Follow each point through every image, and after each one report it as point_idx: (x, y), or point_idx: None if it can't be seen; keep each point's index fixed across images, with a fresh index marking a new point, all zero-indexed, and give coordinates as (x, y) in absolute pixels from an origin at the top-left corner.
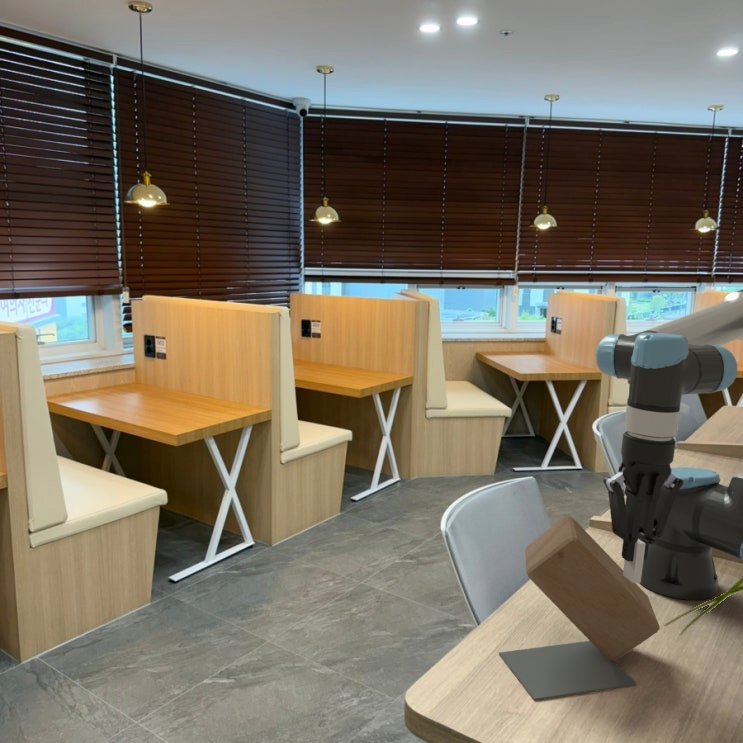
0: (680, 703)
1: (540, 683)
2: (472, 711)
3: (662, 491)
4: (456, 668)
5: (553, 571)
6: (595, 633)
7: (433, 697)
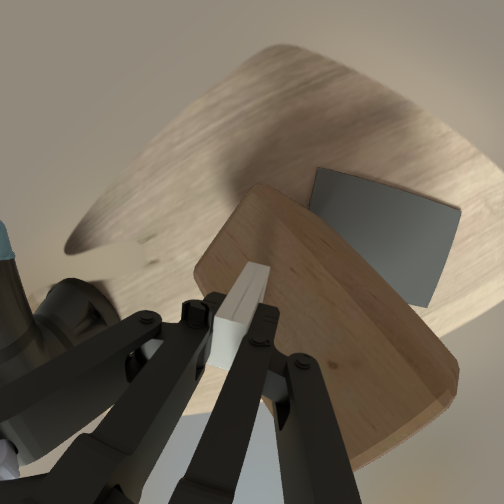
0: (291, 109)
1: (436, 232)
2: None
3: (36, 443)
4: (478, 301)
5: (444, 352)
6: (350, 247)
7: None
